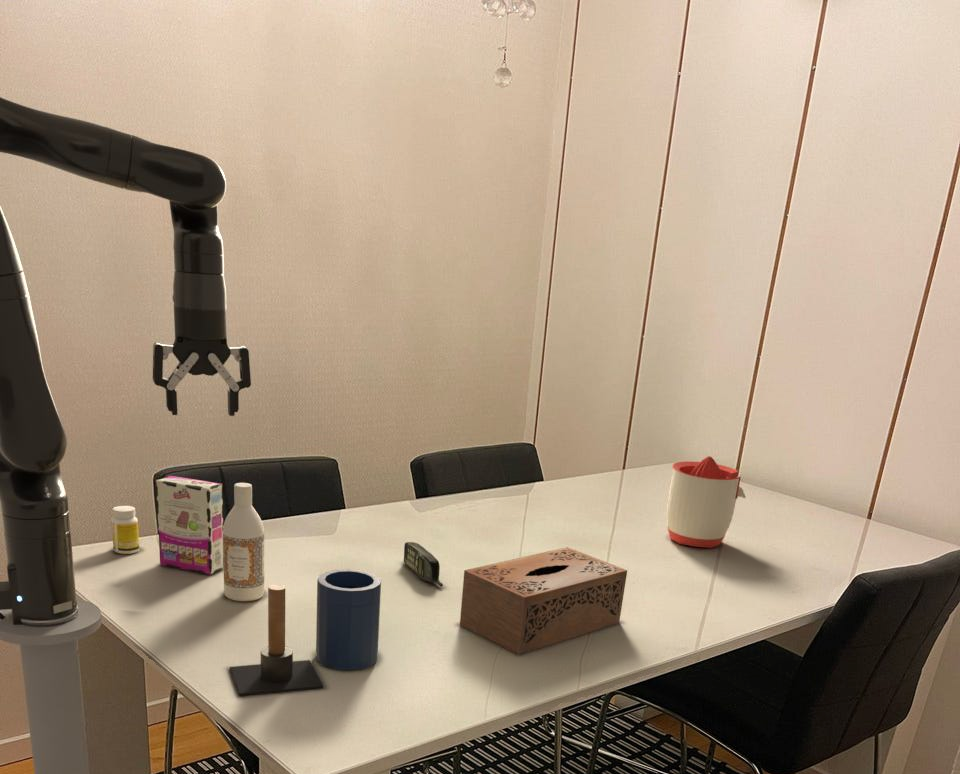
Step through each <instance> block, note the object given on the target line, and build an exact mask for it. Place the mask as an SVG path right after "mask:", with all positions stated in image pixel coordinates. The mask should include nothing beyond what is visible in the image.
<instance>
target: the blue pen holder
mask: <svg viewBox="0 0 960 774" xmlns="http://www.w3.org/2000/svg"><path fill="white" fill-rule="evenodd" d="M316 582H317V585H316V627H315V629H316V633H315V635H316V636H315V637H316V638H315V652H316V654H315V655H316V656H315V657H316V660H317V662H318V663H319V664H320V665H322V666H324V667H326V668H328V669H331V670H337V671H346V672H348V671H351V672H352V671H361V670H365V669H367V668H370V667H372V666H373V665H375V664H376V662H377V661H378V652H379V637H380V617H381V616H380V615H381V596H382V594H381V593H382V592H381V591H382V579H381V578H380V576H378V575H376V574H374V573H372V572H369V571H365V570H360V569H351V568H342V569H340V568H339V569H333V570H328V571H325V572H323V573H321V574H319V575H318V577H317V580H316Z"/></svg>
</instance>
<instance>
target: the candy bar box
mask: <svg viewBox="0 0 960 774" xmlns="http://www.w3.org/2000/svg"><path fill="white" fill-rule="evenodd" d="M155 490H156V509H157V511H156V512H157V528H158V548H159V549H158V550H159V565H160V566H163V567H167V568H174V569H179V570H183V571H189V572H195V573H200V574H205V575H210V576H211V575H213V574H216V573H217V572H219V571H221V570H224V569H223V526H224V507H223V505H224V504H223V503H224V502H223V501H224V500H223V483H220V482H219V483H218V482H212V481H208V480H200V479H194V478H188V477H181V476H176V475H168V476H165V477H161V478H160V479H156V480H155Z"/></svg>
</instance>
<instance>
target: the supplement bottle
mask: <svg viewBox="0 0 960 774" xmlns="http://www.w3.org/2000/svg"><path fill="white" fill-rule="evenodd" d="M112 516H113V517H112V518H111V533H112V534H111V535H112V545H113V551H114V552H115V553H117V554H121V555H130V554H134V553H137V552H139V551H140V536H139V535H140V534H139V533H140V532H139V521H138V520H139V519H138V518H137V517H136V508H135V507H134V506H131V505H117V506H114V507H112Z"/></svg>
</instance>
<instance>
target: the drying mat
mask: <svg viewBox="0 0 960 774" xmlns="http://www.w3.org/2000/svg"><path fill="white" fill-rule="evenodd" d="M229 671H230V673H231V676H232V679H233V682H234V685H235V687H236V690H237V693H238V695H239V697H246V696H255V695H265V694H266V695H267V694H277V693H278V694H279V693H287V692H288V693H289V692H298V691H307V690H308V691H309V690H317V689H319V690H320V689H324V683H322V681H321V679H320V677H319V675H318V673H317V671H316V669H315V668H314V665H313V664H312V662H311V660H310V659H307V660H296V661H294V660H293V676H292V678H291V679H290V680H288V681H286V682H281V683H272V682H267V681H265V680H263V679H262V678H261V663H260V664H248V665H235V666H229Z"/></svg>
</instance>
